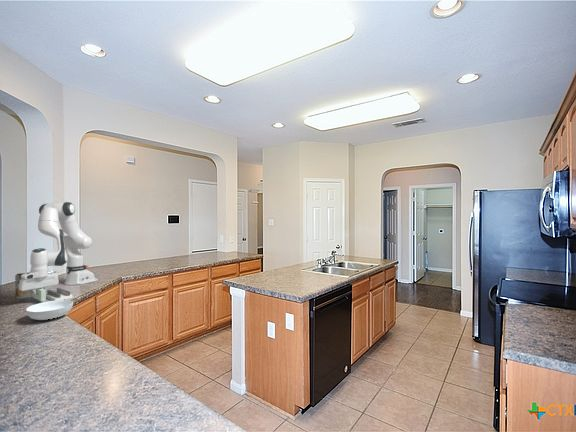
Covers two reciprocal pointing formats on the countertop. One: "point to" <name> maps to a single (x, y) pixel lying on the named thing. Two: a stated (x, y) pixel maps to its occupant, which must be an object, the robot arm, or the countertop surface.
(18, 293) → the coffee box
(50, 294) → the floor track
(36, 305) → the serving bowl
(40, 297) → the door panel
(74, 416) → the countertop surface
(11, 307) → the countertop surface
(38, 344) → the countertop surface
